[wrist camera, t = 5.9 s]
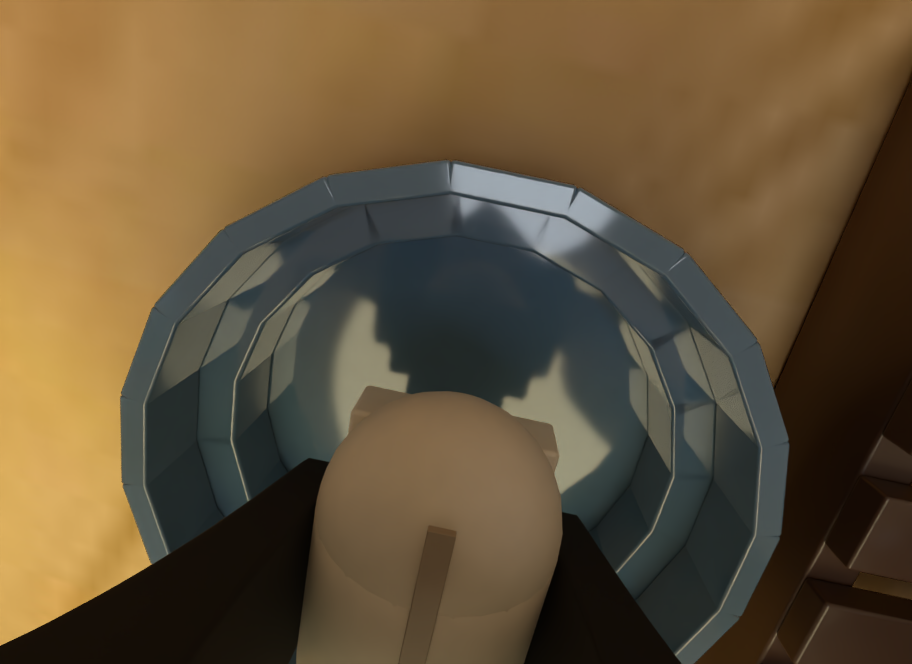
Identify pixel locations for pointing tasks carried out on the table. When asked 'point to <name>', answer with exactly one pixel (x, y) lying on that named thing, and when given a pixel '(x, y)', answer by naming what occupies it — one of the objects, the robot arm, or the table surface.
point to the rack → (846, 448)
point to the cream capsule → (431, 534)
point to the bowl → (471, 369)
